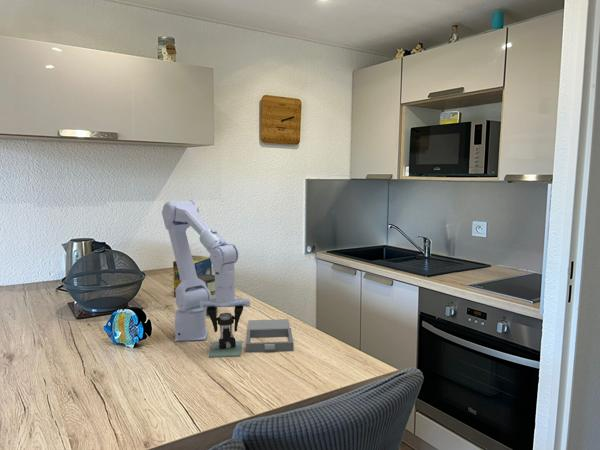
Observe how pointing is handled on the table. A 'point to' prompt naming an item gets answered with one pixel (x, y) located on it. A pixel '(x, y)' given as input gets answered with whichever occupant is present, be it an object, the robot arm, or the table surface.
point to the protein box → (201, 267)
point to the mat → (226, 350)
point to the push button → (226, 331)
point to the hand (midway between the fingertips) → (225, 330)
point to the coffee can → (208, 286)
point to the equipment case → (269, 335)
